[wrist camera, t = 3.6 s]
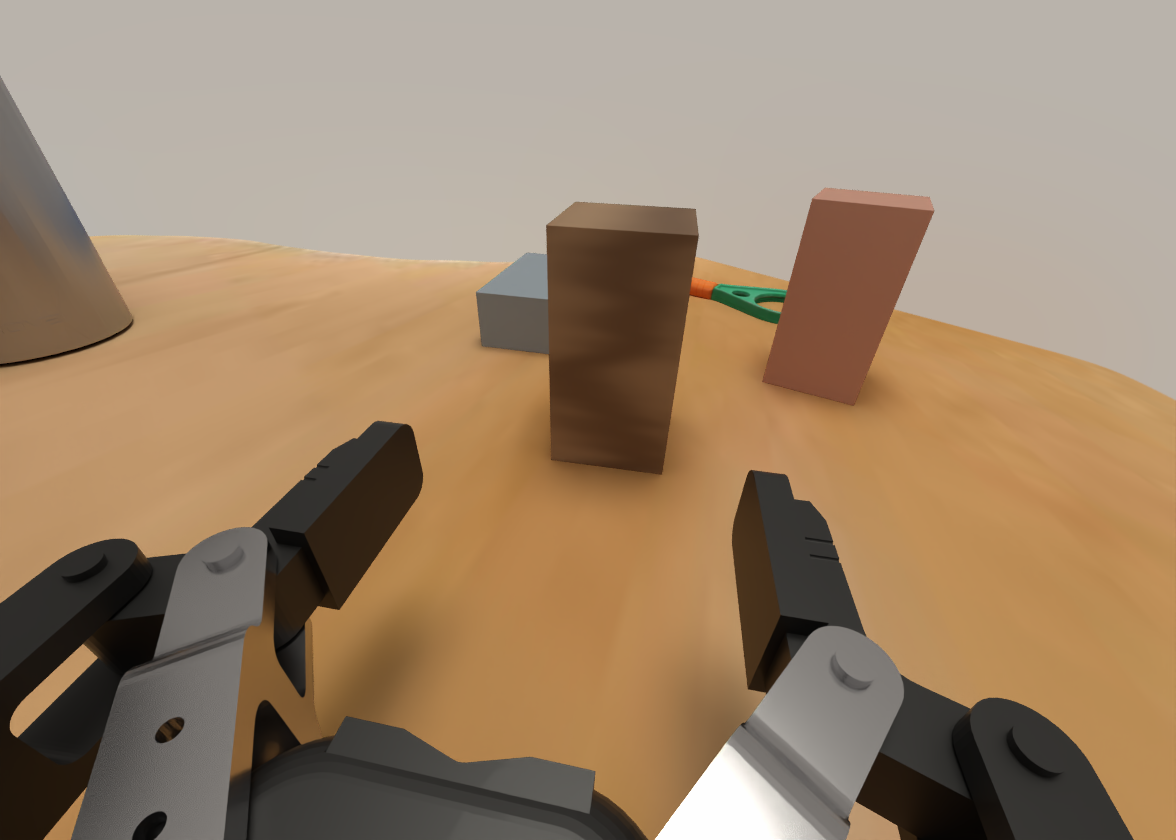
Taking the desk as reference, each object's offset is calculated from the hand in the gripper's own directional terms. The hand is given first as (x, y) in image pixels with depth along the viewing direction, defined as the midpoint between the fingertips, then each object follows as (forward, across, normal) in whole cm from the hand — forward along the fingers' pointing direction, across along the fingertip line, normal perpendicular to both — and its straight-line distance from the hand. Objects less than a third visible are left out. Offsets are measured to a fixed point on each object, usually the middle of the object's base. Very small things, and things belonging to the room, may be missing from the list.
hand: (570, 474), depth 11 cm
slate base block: (+23, +5, +6) cm, 25 cm away
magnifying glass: (+32, -8, +7) cm, 33 cm away
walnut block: (+10, 0, +6) cm, 12 cm away
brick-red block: (+19, -11, +6) cm, 23 cm away
